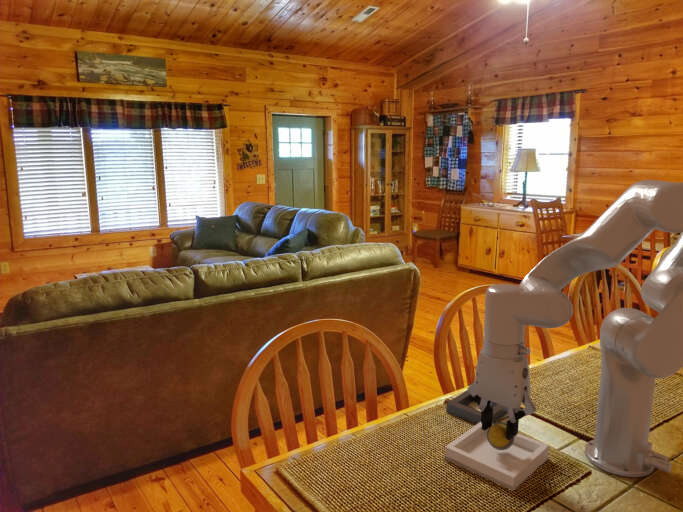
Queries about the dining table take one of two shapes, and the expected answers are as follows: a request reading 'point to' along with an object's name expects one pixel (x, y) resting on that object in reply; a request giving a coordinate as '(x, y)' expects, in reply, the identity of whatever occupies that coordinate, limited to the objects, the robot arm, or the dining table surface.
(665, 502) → the dining table surface
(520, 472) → the tray
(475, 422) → the socket collar
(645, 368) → the robot arm
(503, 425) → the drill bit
